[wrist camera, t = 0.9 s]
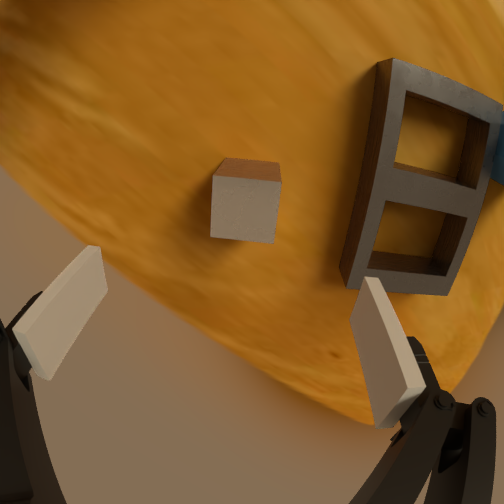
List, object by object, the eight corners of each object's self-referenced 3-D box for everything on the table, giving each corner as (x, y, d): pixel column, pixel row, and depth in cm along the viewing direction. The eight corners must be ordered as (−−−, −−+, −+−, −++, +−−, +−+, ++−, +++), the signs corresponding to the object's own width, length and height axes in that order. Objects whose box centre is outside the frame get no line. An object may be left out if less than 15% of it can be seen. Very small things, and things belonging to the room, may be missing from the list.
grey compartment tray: (377, 62, 22) (392, 57, 18) (480, 101, 22) (503, 105, 18) (338, 267, 32) (346, 288, 29) (433, 276, 32) (447, 295, 29)
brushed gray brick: (226, 157, 28) (212, 175, 21) (279, 162, 28) (281, 182, 21) (223, 206, 30) (210, 236, 24) (273, 211, 30) (273, 243, 24)
